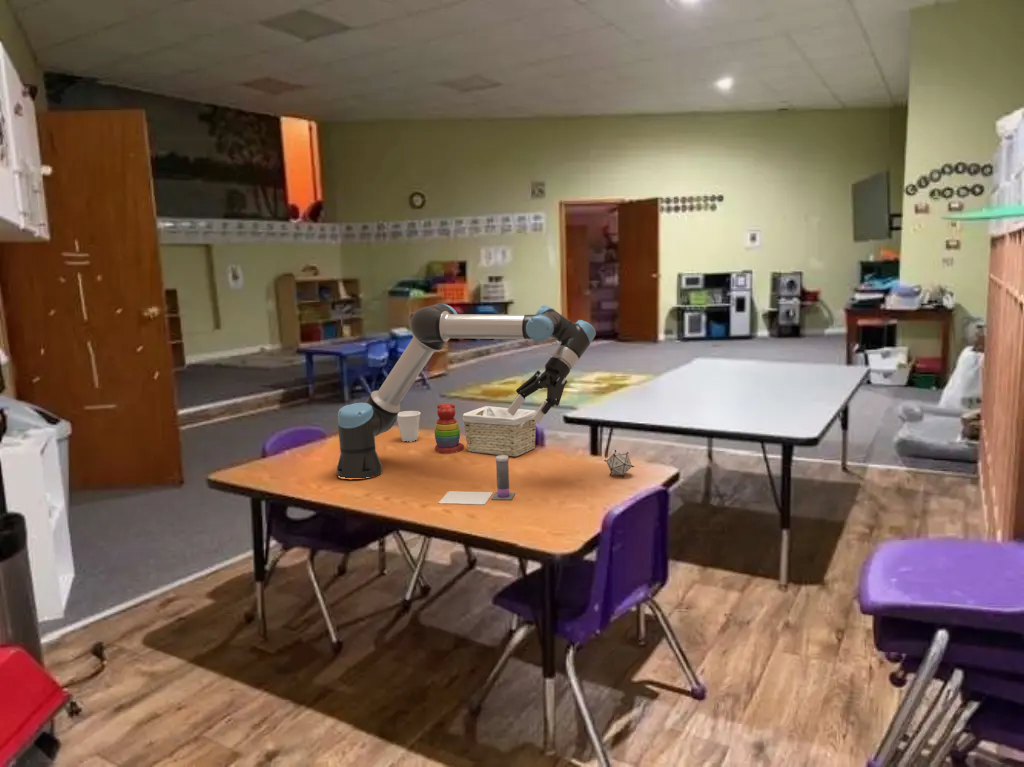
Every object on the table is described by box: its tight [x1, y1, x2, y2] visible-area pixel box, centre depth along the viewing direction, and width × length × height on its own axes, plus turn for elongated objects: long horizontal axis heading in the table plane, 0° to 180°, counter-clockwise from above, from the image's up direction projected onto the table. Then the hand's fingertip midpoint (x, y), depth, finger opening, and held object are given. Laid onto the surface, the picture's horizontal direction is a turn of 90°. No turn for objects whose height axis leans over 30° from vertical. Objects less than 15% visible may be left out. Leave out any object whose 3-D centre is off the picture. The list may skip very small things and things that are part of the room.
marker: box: [495, 455, 510, 497], centre depth 223 cm, size 4×4×12 cm
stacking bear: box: [434, 403, 465, 454], centre depth 279 cm, size 11×10×18 cm
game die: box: [603, 449, 635, 478], centre depth 240 cm, size 9×8×10 cm
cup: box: [396, 410, 422, 443], centre depth 297 cm, size 10×10×11 cm
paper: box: [438, 490, 494, 506], centre depth 224 cm, size 14×11×1 cm
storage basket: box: [462, 405, 537, 457], centre depth 277 cm, size 24×16×15 cm
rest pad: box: [491, 491, 516, 501], centre depth 224 cm, size 6×6×1 cm
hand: (522, 417), depth 230 cm, fingers open, 13 cm apart
